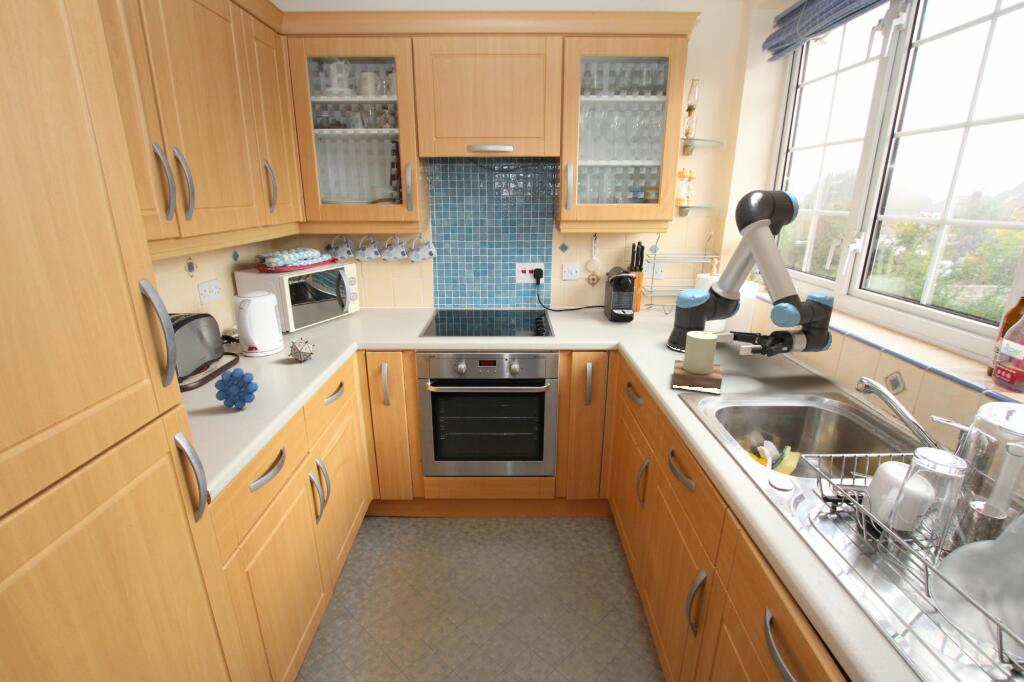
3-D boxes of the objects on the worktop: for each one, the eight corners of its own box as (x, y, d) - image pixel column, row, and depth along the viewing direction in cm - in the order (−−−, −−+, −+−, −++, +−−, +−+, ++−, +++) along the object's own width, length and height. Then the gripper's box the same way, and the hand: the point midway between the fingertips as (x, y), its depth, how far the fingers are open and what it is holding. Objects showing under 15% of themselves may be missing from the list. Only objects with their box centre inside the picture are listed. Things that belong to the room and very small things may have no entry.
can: (717, 369, 151) (723, 333, 148) (705, 376, 145) (710, 339, 141) (690, 362, 157) (694, 328, 154) (677, 368, 151) (681, 333, 148)
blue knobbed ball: (268, 402, 135) (262, 362, 131) (256, 412, 128) (249, 371, 125) (227, 402, 134) (220, 362, 131) (213, 412, 128) (205, 371, 124)
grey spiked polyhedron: (299, 372, 168) (279, 355, 162) (302, 357, 174) (282, 340, 168) (320, 360, 167) (301, 342, 161) (322, 346, 174) (303, 328, 167)
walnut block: (673, 373, 161) (675, 359, 160) (717, 379, 157) (719, 364, 155) (672, 388, 149) (673, 373, 147) (719, 394, 144) (722, 379, 143)
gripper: (813, 365, 143) (750, 368, 140) (758, 341, 167) (704, 343, 163) (818, 341, 141) (754, 344, 138) (762, 321, 165) (707, 323, 161)
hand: (727, 344), depth 150 cm, fingers open, 13 cm apart
